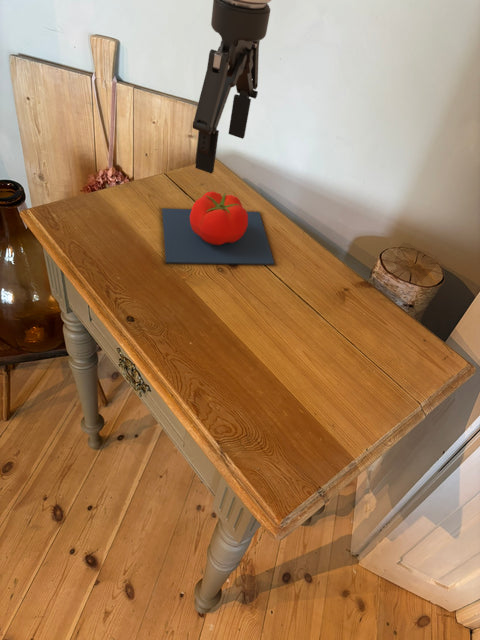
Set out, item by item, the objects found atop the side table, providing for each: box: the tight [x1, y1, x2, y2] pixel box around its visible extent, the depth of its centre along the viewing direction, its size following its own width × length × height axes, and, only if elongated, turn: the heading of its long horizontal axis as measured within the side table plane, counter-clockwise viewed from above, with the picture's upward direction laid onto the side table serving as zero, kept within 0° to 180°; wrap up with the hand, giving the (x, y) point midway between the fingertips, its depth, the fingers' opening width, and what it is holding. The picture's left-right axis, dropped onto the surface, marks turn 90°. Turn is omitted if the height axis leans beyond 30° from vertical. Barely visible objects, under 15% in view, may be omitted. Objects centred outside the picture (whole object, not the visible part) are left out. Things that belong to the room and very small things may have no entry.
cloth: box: [161, 207, 275, 266], centre depth 89 cm, size 20×16×1 cm
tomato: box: [190, 190, 248, 245], centre depth 86 cm, size 11×11×8 cm
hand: (221, 151), depth 75 cm, fingers open, 13 cm apart
